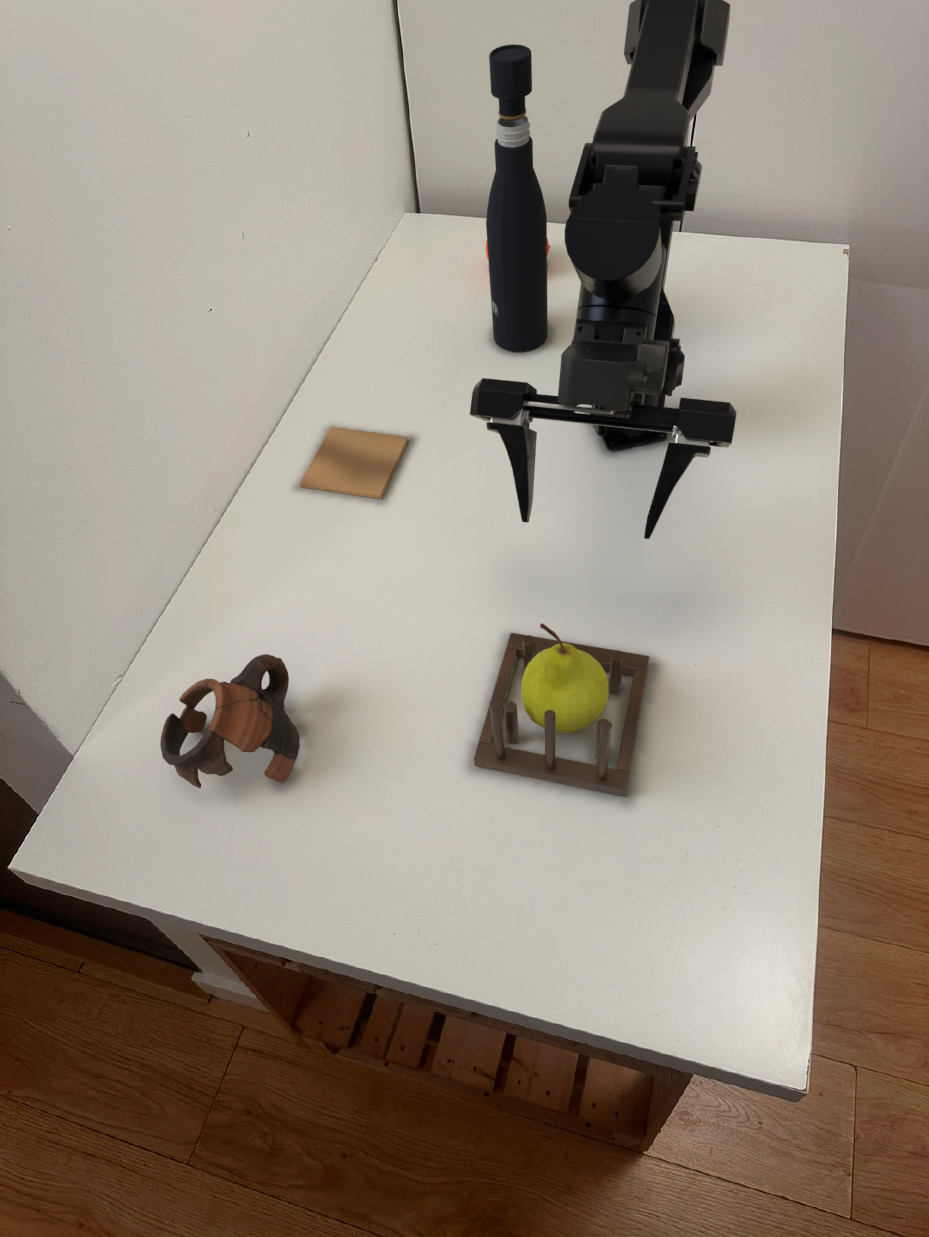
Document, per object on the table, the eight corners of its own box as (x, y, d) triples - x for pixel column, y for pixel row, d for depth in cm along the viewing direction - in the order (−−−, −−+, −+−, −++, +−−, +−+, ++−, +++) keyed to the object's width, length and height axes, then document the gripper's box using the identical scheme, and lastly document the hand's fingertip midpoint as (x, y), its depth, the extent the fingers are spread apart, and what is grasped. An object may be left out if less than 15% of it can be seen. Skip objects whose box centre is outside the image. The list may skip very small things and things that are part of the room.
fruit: (616, 690, 72) (625, 603, 63) (593, 760, 68) (599, 678, 59) (537, 669, 74) (534, 581, 64) (510, 736, 70) (503, 652, 61)
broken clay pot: (275, 821, 68) (192, 785, 63) (213, 795, 75) (133, 760, 69) (339, 684, 72) (266, 638, 66) (275, 670, 78) (203, 628, 73)
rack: (511, 640, 76) (506, 574, 69) (648, 663, 73) (658, 598, 66) (474, 766, 69) (465, 707, 62) (625, 797, 66) (633, 740, 59)
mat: (331, 430, 95) (330, 426, 95) (408, 440, 93) (408, 436, 93) (300, 487, 90) (299, 483, 90) (381, 499, 88) (380, 495, 88)
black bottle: (557, 328, 103) (558, 43, 79) (530, 358, 100) (522, 72, 76) (511, 314, 105) (498, 34, 81) (483, 343, 102) (461, 61, 78)
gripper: (465, 279, 57) (437, 516, 59) (760, 300, 53) (716, 554, 55) (499, 313, 67) (474, 513, 70) (746, 334, 63) (710, 545, 66)
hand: (585, 530), depth 65 cm, fingers open, 9 cm apart
